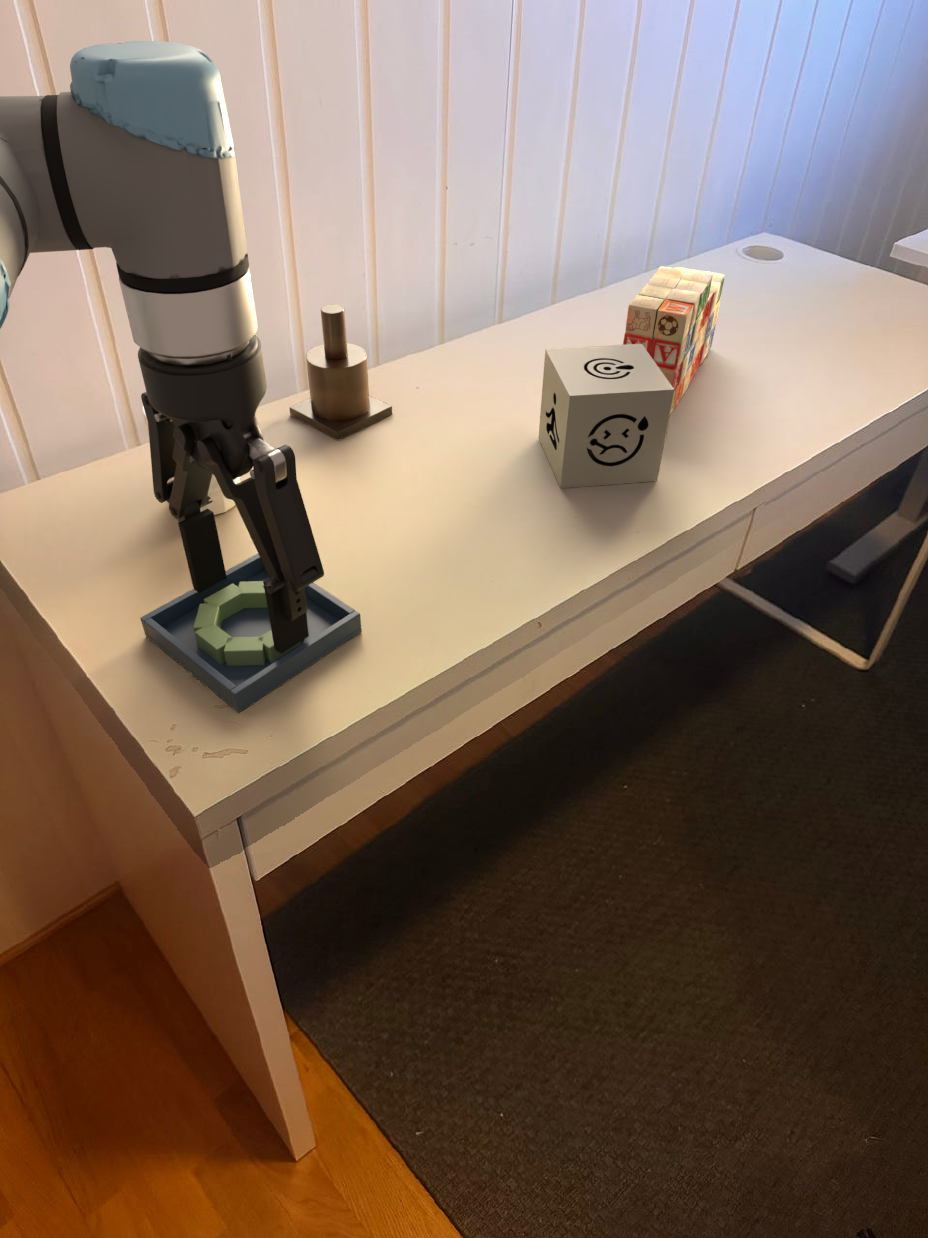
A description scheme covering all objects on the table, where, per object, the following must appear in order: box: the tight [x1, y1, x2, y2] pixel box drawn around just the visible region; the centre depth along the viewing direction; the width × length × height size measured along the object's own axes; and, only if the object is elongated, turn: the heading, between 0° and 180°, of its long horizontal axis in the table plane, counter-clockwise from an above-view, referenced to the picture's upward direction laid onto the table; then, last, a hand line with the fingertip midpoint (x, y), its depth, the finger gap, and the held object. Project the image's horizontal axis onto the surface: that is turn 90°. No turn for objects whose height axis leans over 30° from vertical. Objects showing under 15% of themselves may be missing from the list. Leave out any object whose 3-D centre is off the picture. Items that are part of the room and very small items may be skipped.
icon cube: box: [538, 344, 674, 489], centre depth 90 cm, size 10×10×10 cm
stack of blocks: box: [622, 265, 726, 417], centre depth 103 cm, size 21×6×12 cm, turn 155°
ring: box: [193, 581, 307, 666], centre depth 71 cm, size 8×8×2 cm
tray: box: [140, 553, 363, 714], centre depth 71 cm, size 12×12×2 cm
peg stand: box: [289, 303, 393, 441], centre depth 95 cm, size 8×8×12 cm
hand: (249, 611), depth 70 cm, fingers open, 10 cm apart
